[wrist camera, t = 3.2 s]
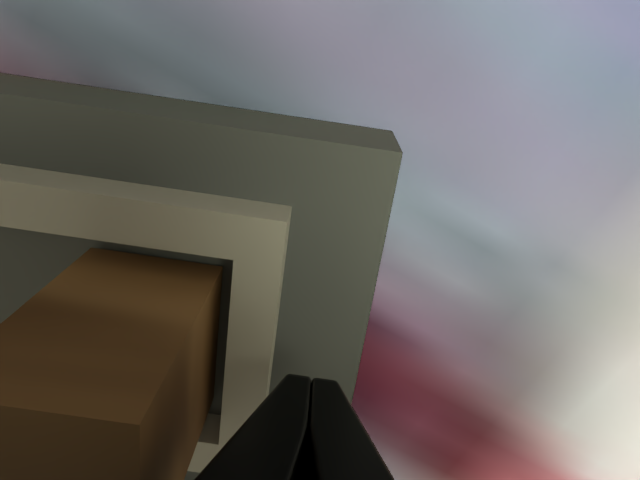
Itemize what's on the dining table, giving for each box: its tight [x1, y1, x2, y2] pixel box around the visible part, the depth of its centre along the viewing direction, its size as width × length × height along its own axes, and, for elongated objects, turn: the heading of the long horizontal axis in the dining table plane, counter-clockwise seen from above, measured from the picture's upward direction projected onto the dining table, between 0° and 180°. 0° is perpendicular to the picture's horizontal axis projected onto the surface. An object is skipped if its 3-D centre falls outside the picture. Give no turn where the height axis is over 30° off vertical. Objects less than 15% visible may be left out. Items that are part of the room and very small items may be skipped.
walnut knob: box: [0, 247, 223, 480], centre depth 8 cm, size 3×2×4 cm
